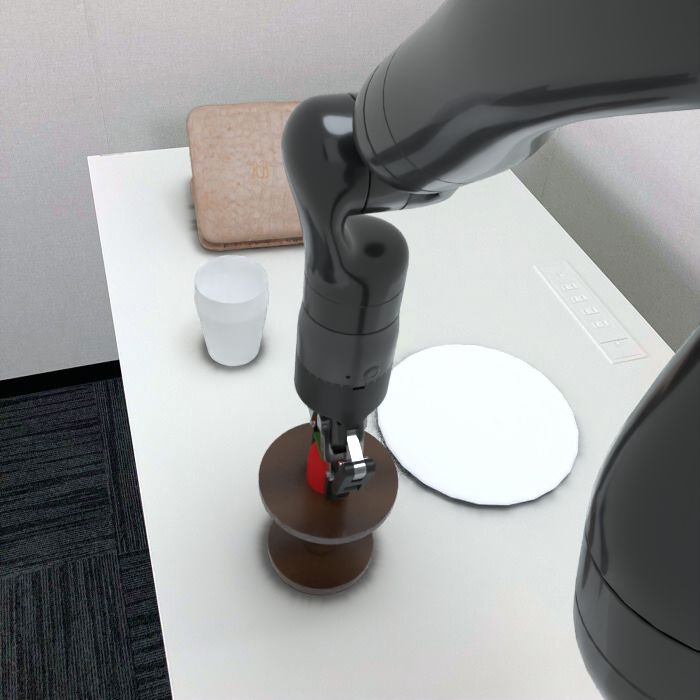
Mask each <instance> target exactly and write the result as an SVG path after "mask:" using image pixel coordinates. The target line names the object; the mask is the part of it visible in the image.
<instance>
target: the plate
mask: <svg viewBox="0 0 700 700" xmlns="http://www.w3.org/2000/svg"><path fill="white" fill-rule="evenodd" d="M376 412H377V425H378V428H379V430H380V432H381V433H380V434H381V436H382V438H383V441H384V444H385V447H387V450H389V452H390V454H392V455H393V457H394V458H395V459H396V461H397V462H398V464H399V465H400V466H401V467H402V468H403V469H404V470H406V471H407V472H408V473H409V474H411V475H412V476H413V477H414V478H415V479H416V480H418V481H419V482H420V483H421V484H423V485H424V486H426V487H428V488H429V489H432V490H433V491H436V492H438V493H440V494H442V495H444V496H446V497H448V498H450V499H454V500H458V501H461V502H466V503H470V504H473V505H478V506H495V507H497V506H498V507H501V506H502V507H509V506H514V505H519V504H522V503H527V502H532V501H535V500H537V499H538V498H540V497H542V496H544V495H546V494H547V493H549V492H551V491H553V490H555V489H556V488H557V487H558V486H559V485H560V484H561V482H562V481H563V480H565V478H566V477H567V476H568V475H569V474H570V472H571V471H572V468H573V467H574V463H575V461H576V458H577V456H578V453H579V428H578V426H577V422H576V418H575V416H574V412H573V410H572V408H571V407H570V405H569V403H568V401H567V400H566V398H565V397H564V395H563V393H562V392H561V390H559V388H557V386H555V384H554V383H553V382H552V381H551V380H550V379H549V378H548V377H547V376H546V375H544V373H542V372H541V371H539V370H537V369H536V368H535V367H534V366H532V365H530V364H529V363H527V362H525V361H524V360H523V359H521V358H518V357H515V356H513V355H512V354H508V353H506V352H504V351H502V350H499V349H495V348H490V347H486V346H482V345H478V344H460V343H458V344H457V343H449V344H444V345H437V346H431V347H428V348H425V349H422V350H421V351H418V352H415V353H413V354H409V355H408V356H407V357H405V358H404V359H403V360H401V362H399V363H398V364H396V365H395V366H394V367H392V370H391V375H390V380H389V385H388V390H387V394H386V396H385V398H384V400H383V402H382V403H381V404H380V405H379V406H378V407H377V408H376Z"/></svg>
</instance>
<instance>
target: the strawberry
mask: <svg viewBox="0 0 700 700" xmlns="http://www.w3.org/2000/svg"><path fill="white" fill-rule="evenodd" d="M314 437H315V440H316V441H315V442H314V443H313V444H312V446H311V448H310V450H309V453H308V462H307V473H306V476H307V481H308V483H309V485H310V486H311V487H312V488H313V489H314V490H315V491H317V492H319V493H321V494H324V485H325V477H326V462H325V461H324V458H323V456H322V453H321V451H320V432H314ZM330 446H333V445H332V444H331V443H330ZM345 460H346V459H345ZM339 461H344V460H339ZM339 461H337V462H336V463H335V465H339V464H338V463H339Z"/></svg>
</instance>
